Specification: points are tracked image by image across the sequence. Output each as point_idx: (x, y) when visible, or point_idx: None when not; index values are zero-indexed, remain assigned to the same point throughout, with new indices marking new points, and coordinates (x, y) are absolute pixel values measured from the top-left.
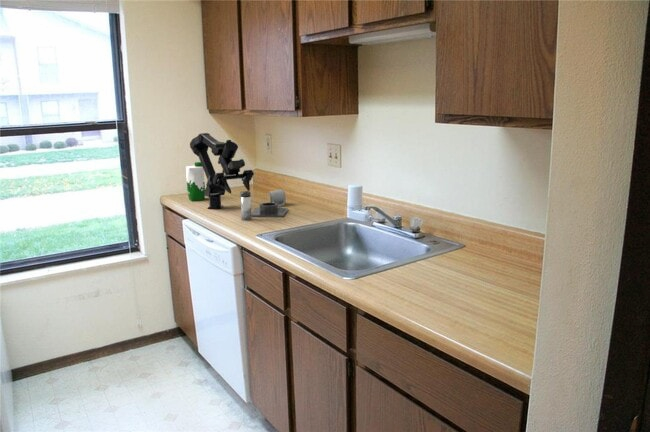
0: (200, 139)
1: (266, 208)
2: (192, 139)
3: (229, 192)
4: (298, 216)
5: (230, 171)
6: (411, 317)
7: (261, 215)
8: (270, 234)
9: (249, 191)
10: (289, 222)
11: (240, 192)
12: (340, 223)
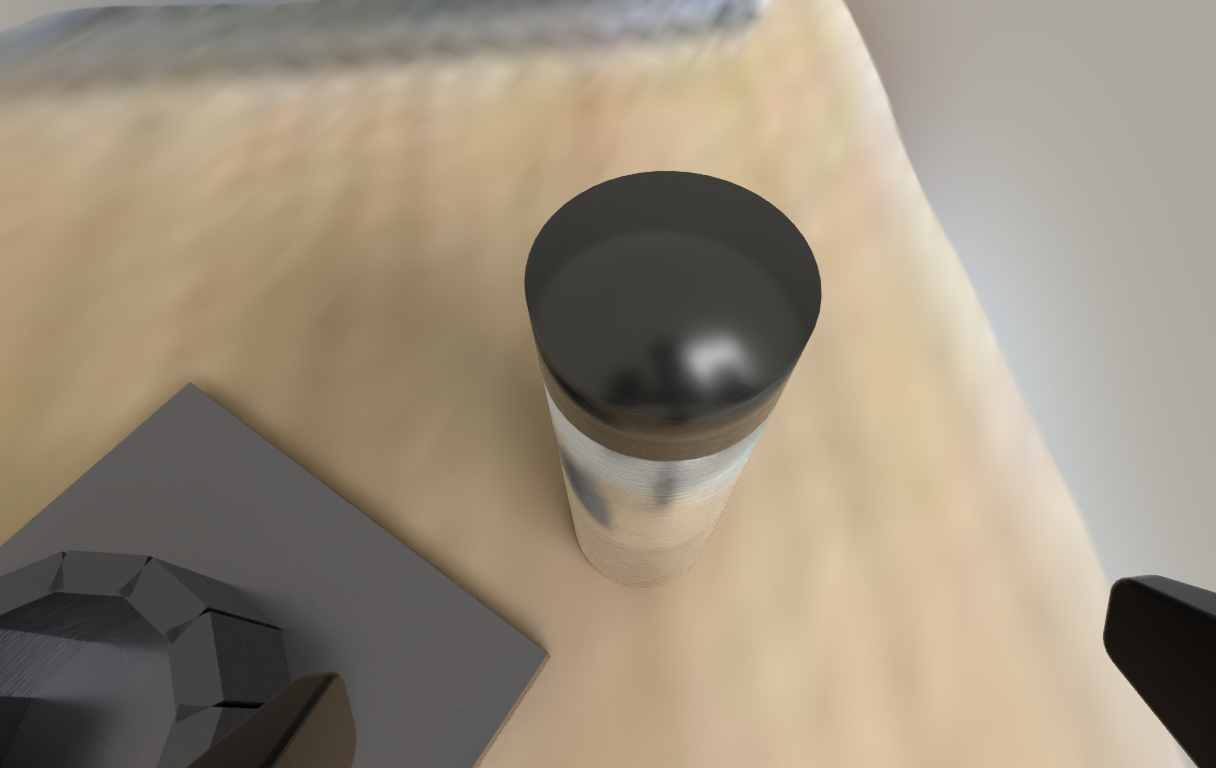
0: None
1: (218, 599)
2: None
3: (1184, 660)
4: (62, 340)
5: None
6: None
7: (398, 541)
8: (661, 3)
9: (529, 298)
10: (334, 184)
11: (820, 296)
12: (76, 20)
